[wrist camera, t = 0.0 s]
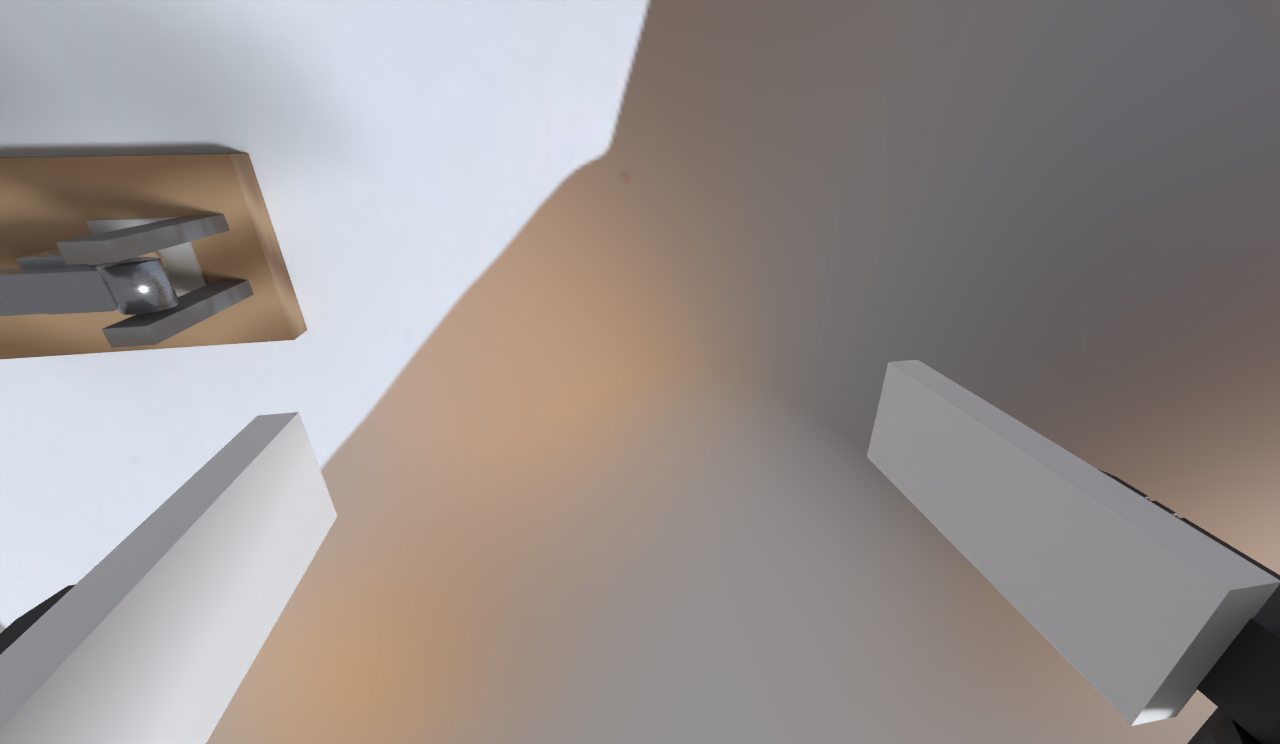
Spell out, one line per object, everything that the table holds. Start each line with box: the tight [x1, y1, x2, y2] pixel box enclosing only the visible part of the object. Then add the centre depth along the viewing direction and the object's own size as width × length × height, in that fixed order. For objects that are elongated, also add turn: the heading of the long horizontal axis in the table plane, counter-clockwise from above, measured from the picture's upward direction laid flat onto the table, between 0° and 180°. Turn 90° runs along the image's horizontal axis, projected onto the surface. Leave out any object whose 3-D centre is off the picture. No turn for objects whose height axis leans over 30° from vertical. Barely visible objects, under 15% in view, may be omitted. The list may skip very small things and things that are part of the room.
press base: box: [0, 153, 307, 359], centre depth 27 cm, size 12×18×11 cm, turn 91°
